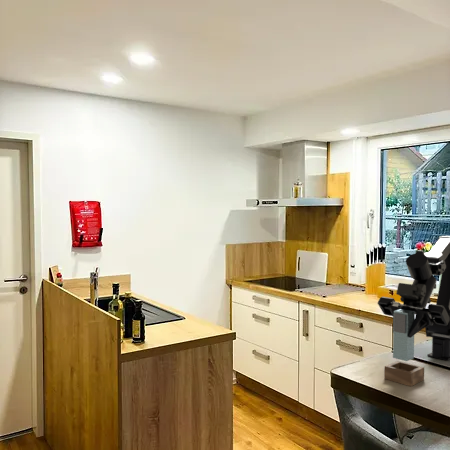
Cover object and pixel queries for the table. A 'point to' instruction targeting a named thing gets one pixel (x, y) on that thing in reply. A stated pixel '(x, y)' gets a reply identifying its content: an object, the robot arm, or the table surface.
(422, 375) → the post base
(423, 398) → the table surface
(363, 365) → the table surface
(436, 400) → the table surface
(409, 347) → the grey-blue tall rectangular block
